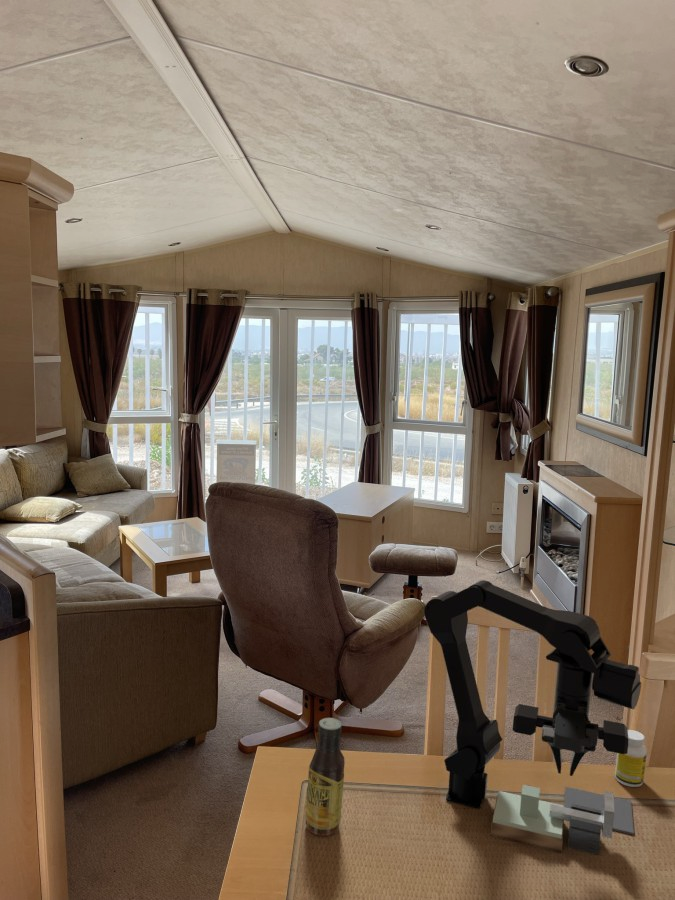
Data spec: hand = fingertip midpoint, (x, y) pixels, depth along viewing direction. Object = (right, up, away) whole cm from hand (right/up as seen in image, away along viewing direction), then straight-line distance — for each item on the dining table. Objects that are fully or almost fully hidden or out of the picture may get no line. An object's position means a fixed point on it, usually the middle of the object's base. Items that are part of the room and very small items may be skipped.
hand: (565, 773), depth 128 cm
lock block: (+3, -12, +1) cm, 13 cm away
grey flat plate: (+9, -11, +10) cm, 17 cm away
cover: (-6, -9, +3) cm, 11 cm away
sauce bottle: (-42, -10, +2) cm, 44 cm away
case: (-6, -11, +3) cm, 13 cm away
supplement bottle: (+19, -10, +20) cm, 29 cm away
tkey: (+3, -8, 0) cm, 9 cm away
